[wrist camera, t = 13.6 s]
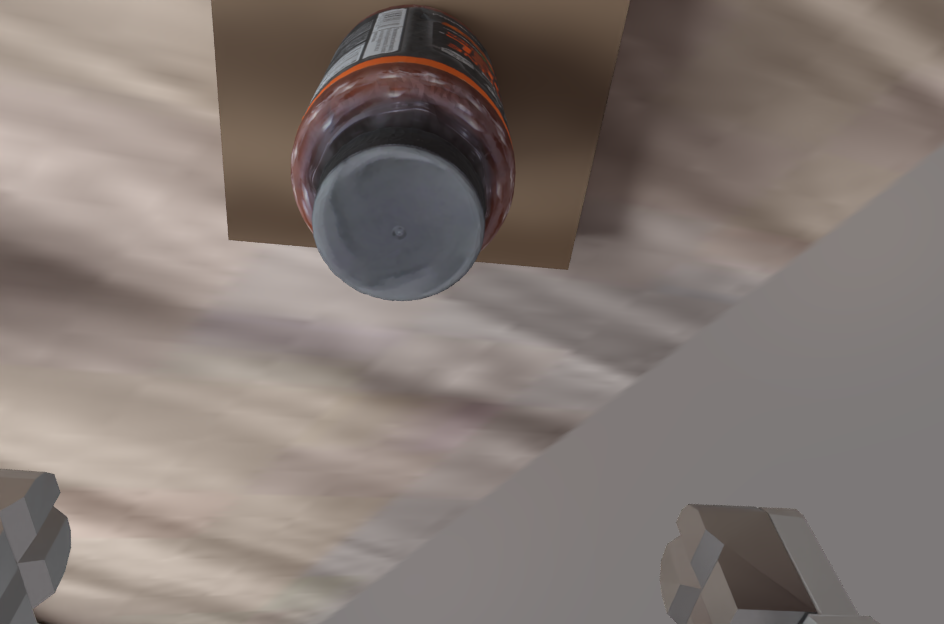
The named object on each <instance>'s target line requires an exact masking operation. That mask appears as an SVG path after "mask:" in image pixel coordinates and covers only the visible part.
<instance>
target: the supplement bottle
mask: <svg viewBox="0 0 944 624" xmlns="http://www.w3.org/2000/svg"><path fill="white" fill-rule="evenodd" d="M515 176H516V171H515V157H514V151H513V147H512V141H511V134H510V131H509V127H508V124H507V118H506V116H505V112H504V108H503V104H502V99H501V96H500V91H499V86H498V83H497V78H496V74H495V71H494V68H493V66H492V62H491V59H490V58H489V56H488V53H487V51H486V49H485V48H484V47H483V45H482V44H481V42H480V41H479V39H478V38H477V37H476V36H475V35H474V34H473V33H472V32H471V30H470V29H469V28H467V27H466V26H465V25H464V24H463V23H461V22H460V21H459V20H457V19H456V18H454V17H453V16H451V15H449V14H447V13H445V12H443V11H440V10H438V9H435V8H432V7H429V6H422V5H415V4H412V5H399V6H392V7H389V8H386V9H382V10H378V11H377V12H374V13H373V14H371V15H369V16H367V17H366V18H364V19H363V20H361V21H360V22H359V23H358V24H357V25H356V26H355V27H354V28H353V29H352V30H351V31H350V32H349V33H348V34H347V36H346V37H345V38H344V39H343V41H342V43H341V44H340V45H339V47H338V49H337V51H336V52H335V54H334V56H333V58H332V60H331V62H330V64H329V66H328V68H327V70H326V72H325V74H324V77H323V79H322V80H321V82H320V84H319V86H318V88H317V90H316V93H315V95H314V97H313V99H312V100H311V102H310V104H309V106H308V108H307V110H306V112H305V114H304V116H303V118H302V121H301V124H300V126H299V128H298V131H297V134H296V137H295V141H294V145H293V149H292V154H291V184H292V188H293V194H294V197H295V200H296V203H297V206H298V209H299V211H300V213H301V215H302V217H303V219H304V221H305V223H306V224H307V226H308V227H309V229H310V230H311V232H312V233H313V237H314V240H315V243H316V246H317V248H318V251H319V253H320V254H321V256H322V258H323V260H324V261H325V263H326V264H327V265H328V267H329V268H330V270H331V271H332V272H333V273H334V274H335V275H336V276H337V277H339V278H340V279H341V280H342V281H343V282H345V283H346V284H348V285H349V286H351V287H352V288H354V289H355V290H357V291H359V292H361V293H363V294H367V295H370V296H373V297H376V298H381V299H384V300H392V301H394V300H396V301H411V300H418V299H423V298H426V297H429V296H432V295H435V294H438V293H440V292H442V291H444V290H446V289H448V288H449V287H450V286H452V285H454V284H455V283H456V282H458V281H459V280H460V279H461V278H462V277H463V276H464V275H465V274H466V273H467V272H468V271H469V269H470V268H471V267H472V265H473V263H474V262H475V261H476V259H477V257H478V255H479V253H480V252H481V251H482V250H483V249H484V248H485V247H486V246H487V245H488V244H489V243H490V242H491V241H492V239H493V238H494V237H495V235H496V234H497V232H498V231H499V229H500V228H501V226H502V224H503V223H504V220H505V218H506V217H507V214H508V212H509V210H510V207H511V203H512V199H513V195H514V187H515Z"/></svg>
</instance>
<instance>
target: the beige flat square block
mask: <svg viewBox="0 0 944 624" xmlns="http://www.w3.org/2000/svg"><path fill="white" fill-rule="evenodd" d="M629 3H630V0H211V5H212V18H213V32H214V46H215V60H216V73H217V87H218V101H219V114H220V128H221V142H222V155H223V169H224V183H225V196H226V210H227V224H228V237H229V240H235V241H247V242H258V243H269V244H281V245H292V246H304V247H315V248H317V246H316V243H315V240H314V237H313V233H312V232H311V230H310V229H309V227H308V226H307V224H306V223H305V221H304V219H303V217H302V215H301V213H300V211H299V209H298V206H297V203H296V200H295V197H294V194H293V188H292V184H291V154H292V149H293V145H294V141H295V137H296V134H297V131H298V128H299V126H300V124H301V121H302V118H303V116H304V114H305V112H306V110H307V108H308V106H309V104H310V102H311V100H312V99H313V97H314V95H315V93H316V90H317V88H318V86H319V84H320V82H321V80H322V79H323V77H324V74H325V72H326V70H327V68H328V66H329V64H330V62H331V60H332V58H333V56H334V54H335V52H336V51H337V49H338V47H339V45H340V44H341V43H342V41H343V39H344V38H345V37H346V36H347V34H348V33H349V32H350V31H351V30H352V29H353V28H354V27H355V26H356V25H357V24H358V23H359V22H360V21H361V20H363V19H364V18H366V17H367V16H369V15H371V14H373V13H374V12H377V11H378V10H382V9H386V8H389V7H392V6H399V5H412V4H415V5H422V6H429V7H432V8H435V9H438V10H440V11H443V12H445V13H447V14H449V15H451V16H453V17H454V18H456V19H457V20H459V21H460V22H461V23H463V24H464V25H465V26H466V27H467V28H469V29H470V30H471V32H472V33H473V34H474V35H475V36H476V37H477V38H478V39H479V41H480V42H481V44H482V45H483V47H484V48H485V49H486V51H487V53H488V56H489V58H490V59H491V62H492V66H493V68H494V71H495V74H496V78H497V83H498V86H499V91H500V96H501V99H502V104H503V108H504V112H505V116H506V118H507V124H508V127H509V131H510V134H511V141H512V147H513V151H514V157H515V171H516V176H515V187H514V195H513V199H512V203H511V207H510V210H509V212H508V214H507V217H506V218H505V220H504V223H503V224H502V226H501V228H500V229H499V231H498V232H497V234H496V235H495V237H494V238H493V239H492V241H491V242H490V243H489V244H488V245H487V246H486V247H485V248H484V249H483V250H482V251H481V252H480V253H479V255H478V257H477V259H476V261H475V262H486V263H497V264H508V265H520V266H531V267H542V268H554V269H565V270H568V267H569V263H570V259H571V254H572V250H573V246H574V241H575V237H576V233H577V228H578V224H579V220H580V216H581V211H582V207H583V203H584V198H585V194H586V190H587V185H588V181H589V177H590V172H591V168H592V164H593V159H594V155H595V151H596V146H597V142H598V138H599V133H600V129H601V125H602V120H603V116H604V112H605V107H606V103H607V99H608V94H609V90H610V86H611V81H612V77H613V73H614V68H615V64H616V60H617V55H618V51H619V47H620V42H621V38H622V34H623V29H624V25H625V21H626V16H627V12H628V8H629Z"/></svg>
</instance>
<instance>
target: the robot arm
mask: <svg viewBox="0 0 944 624" xmlns="http://www.w3.org/2000/svg"><path fill="white" fill-rule="evenodd" d="M59 494H60V490H59V487H58V484H57V481H56V478H55V475H54V474H51V473H47V472H37V471H24V470H11V469H0V624H39V623H37V621H36V618H35V614H34V611H33V608H35V607H36V606H38V605H39V604H40V603H42V602H43V601H44V600H46V599H47V598H48V597H50V596H51V595H52V594H54V593H55V591H56V589H57V587H58V585H59V583H60V581H61V579H62V577H63V574H64V572H65V569H66V565H67V561H68V557H69V553H70V549H71V530H70V526H69V522H68V518H67V517H66V516H65V515H64V514H63V513H61V512H60V511H59V510H58V509H56V508H55V507H54V506H53V505H54V503H55V502H56V500H57V498H58V496H59ZM676 523H677V526H678V529H679V532H680V536H678V537H677V538H675V539H674V540H672V541H671V542H669V543H668V544H667V546H666V548H665V551H664V554H663V557H662V559H661V570H660V584H661V591H662V597H663V601H664V604H665V608H666V611H667V614H668V615H669V616H670V617H671V618H672V619H673V620H674V621H675V622H676V623H677V624H879V623H878V622H877V621H876V620H874V619H873V618H872V617H870V616H860V615H859V614H858V612H857V610H856V608H855V606H854V605H853V603H852V601H851V599H850V597H849V596H848V594H847V592H846V590H845V589H844V587H843V585H842V583H841V581H840V580H839V578H838V576H837V574H836V572H835V571H834V569H833V567H832V565H831V564H830V562H829V560H828V558H827V556H826V554H825V553H824V551H823V549H822V547H821V546H820V544H819V542H818V540H817V538H816V537H815V535H814V533H813V531H812V529H811V528H810V526H809V524H808V523H807V520H806V519H805V517H804V516H803V515H802V514H801V513H800V512H799V511H798V510H796V509H787V508H765V507H759V508H757V507H751V506H726V505H699V504H688V505H687V506H686V507H685V508H683V509H682V510H681V513H680V515H679V517H678V520H677V522H676Z"/></svg>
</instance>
